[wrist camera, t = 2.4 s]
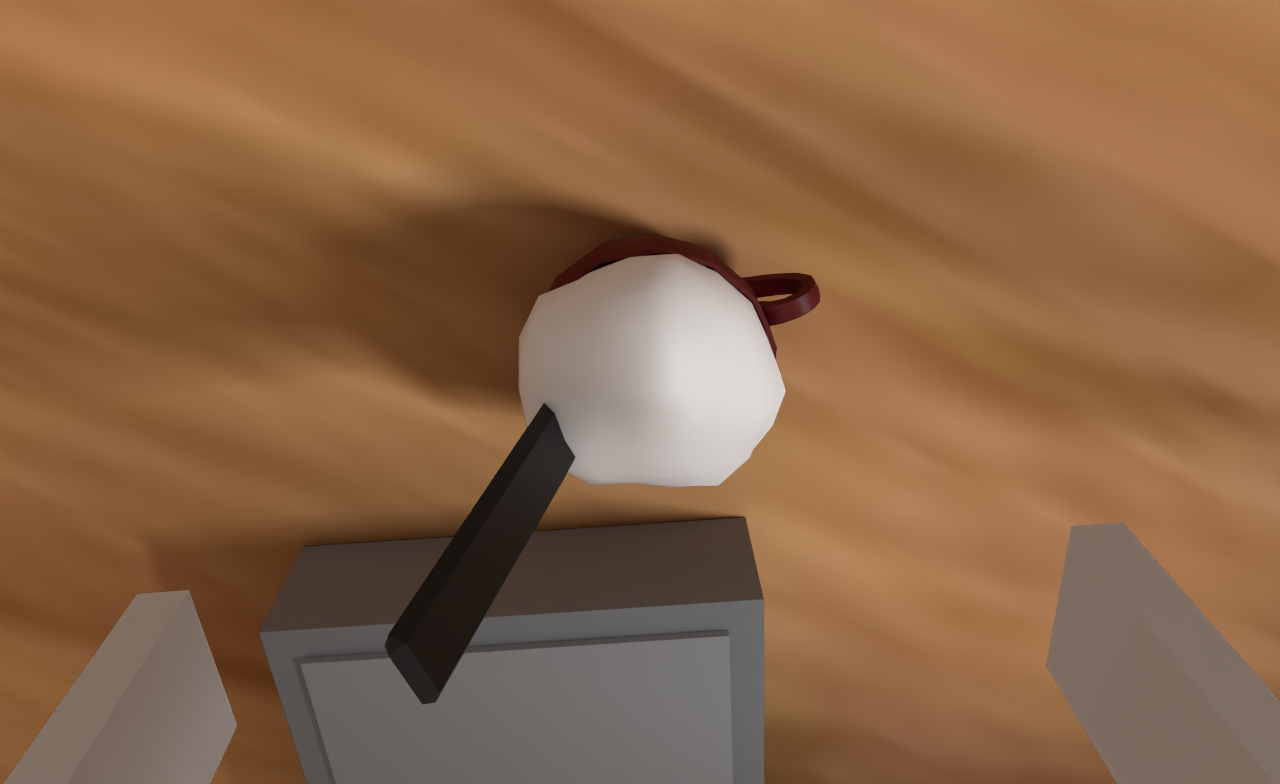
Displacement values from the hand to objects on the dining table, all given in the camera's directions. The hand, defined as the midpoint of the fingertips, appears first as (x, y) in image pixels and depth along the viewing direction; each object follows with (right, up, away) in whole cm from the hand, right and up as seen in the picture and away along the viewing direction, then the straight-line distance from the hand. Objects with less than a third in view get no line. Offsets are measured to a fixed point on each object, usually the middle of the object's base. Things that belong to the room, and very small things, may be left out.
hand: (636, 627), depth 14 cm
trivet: (-3, -7, +18) cm, 20 cm away
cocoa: (0, +6, +12) cm, 13 cm away
